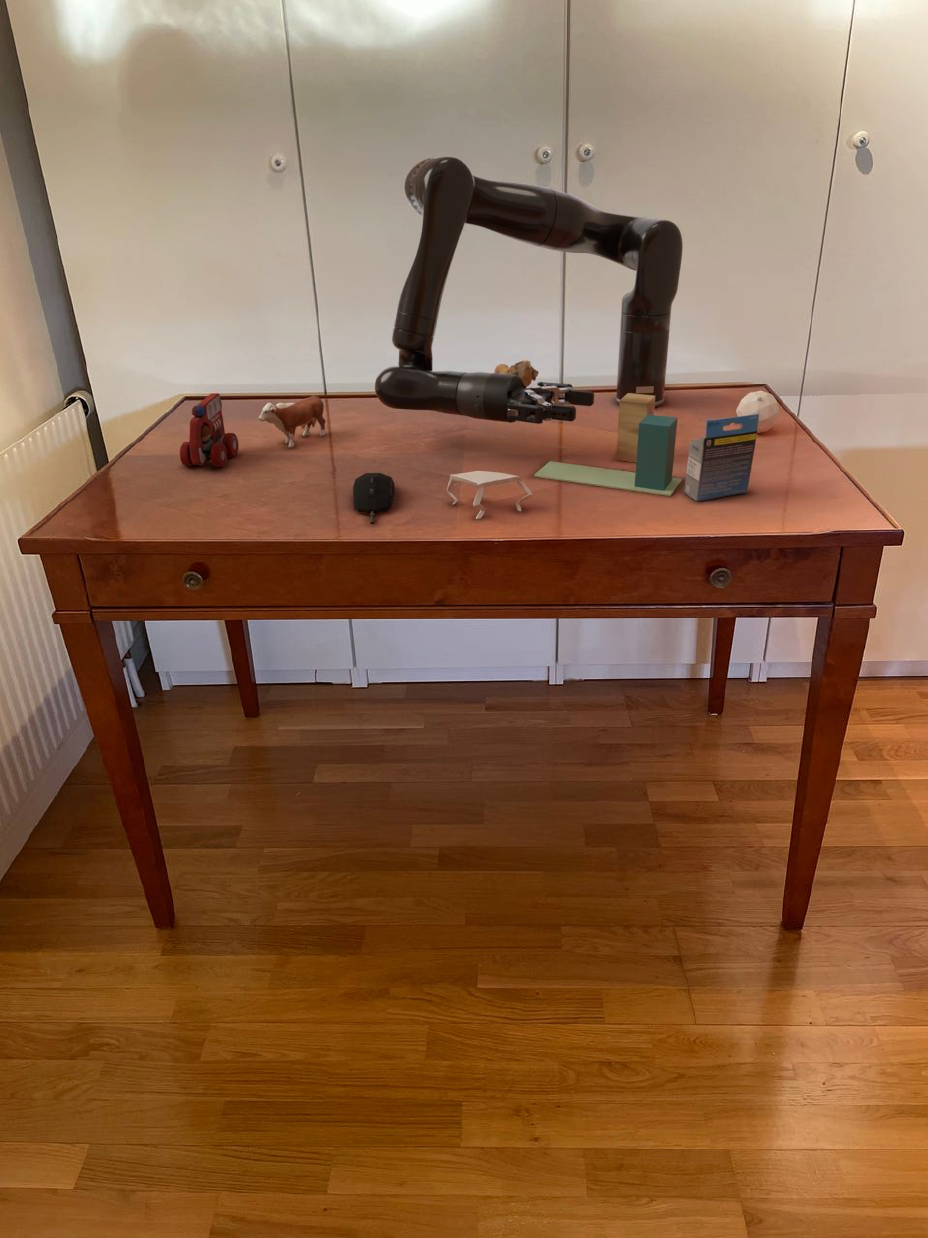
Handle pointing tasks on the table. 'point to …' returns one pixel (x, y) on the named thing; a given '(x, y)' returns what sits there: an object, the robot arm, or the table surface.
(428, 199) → the robot arm
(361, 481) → the gaming mouse
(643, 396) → the birch block
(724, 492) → the label tape box
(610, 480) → the sage strip
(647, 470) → the teal block
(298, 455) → the table surface
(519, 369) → the lion figurine
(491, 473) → the beige toy table
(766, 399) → the ornament
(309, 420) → the bull figurine
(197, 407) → the toy fire truck
